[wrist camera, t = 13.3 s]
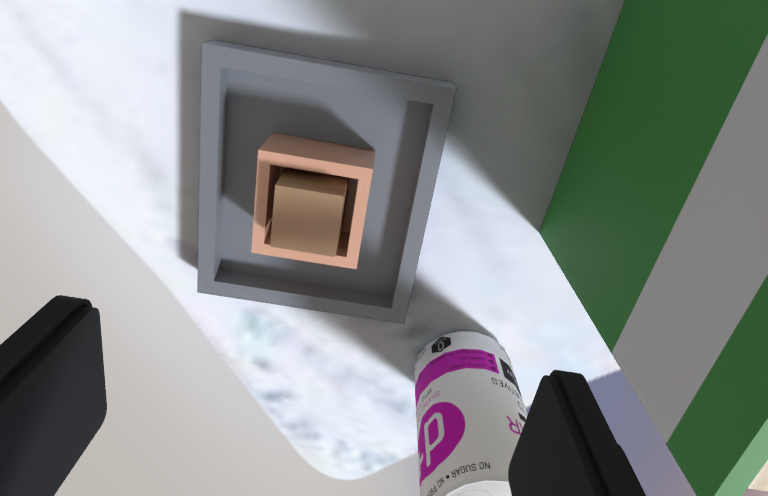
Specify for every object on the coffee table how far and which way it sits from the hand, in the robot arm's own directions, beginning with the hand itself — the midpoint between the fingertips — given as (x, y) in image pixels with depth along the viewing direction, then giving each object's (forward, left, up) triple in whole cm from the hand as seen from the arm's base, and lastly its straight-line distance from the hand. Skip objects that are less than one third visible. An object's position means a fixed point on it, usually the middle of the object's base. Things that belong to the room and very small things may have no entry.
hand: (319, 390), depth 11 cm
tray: (+6, -3, -28) cm, 29 cm away
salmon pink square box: (+6, -3, -28) cm, 28 cm away
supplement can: (+20, +11, -28) cm, 37 cm away
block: (+6, -3, -27) cm, 28 cm away
